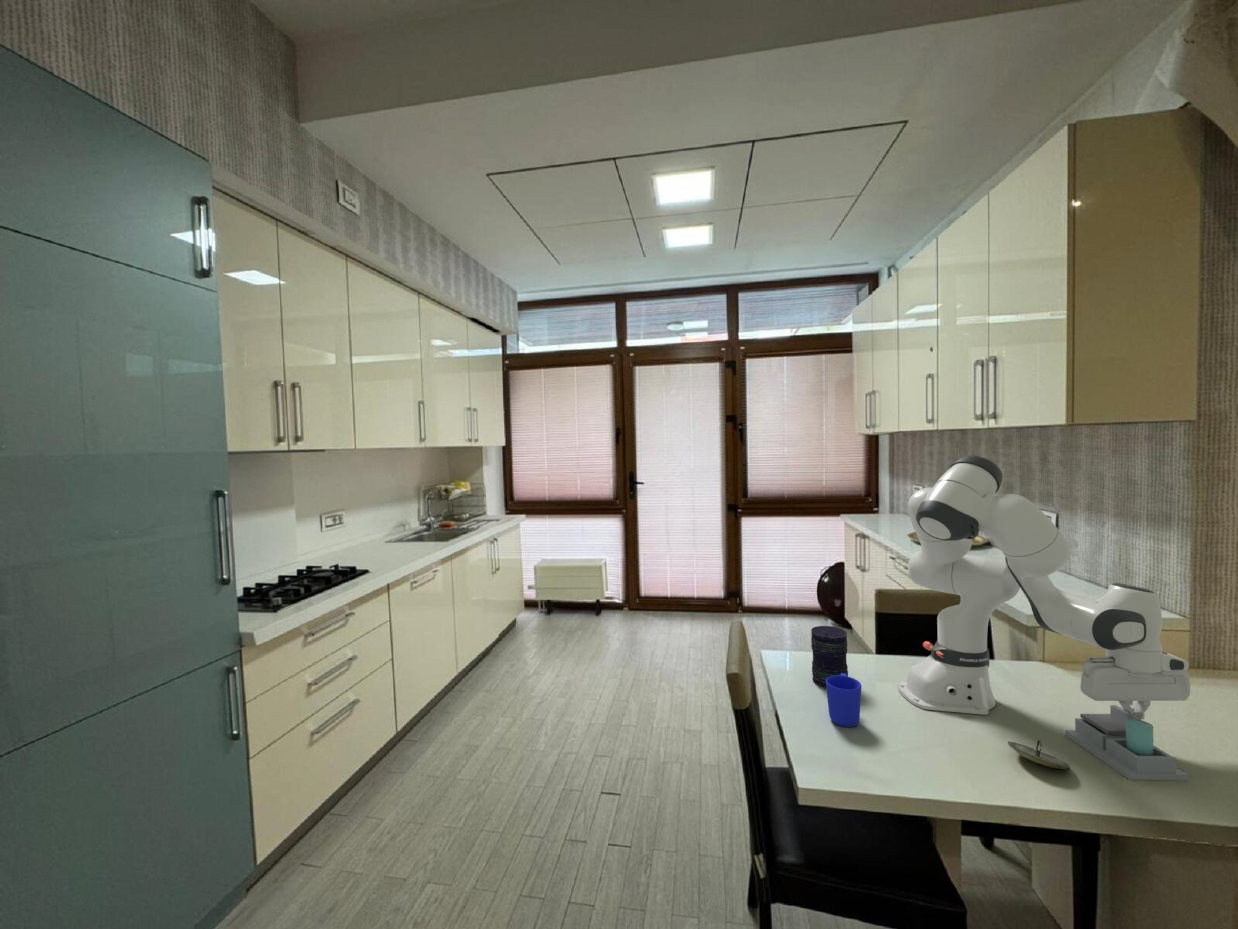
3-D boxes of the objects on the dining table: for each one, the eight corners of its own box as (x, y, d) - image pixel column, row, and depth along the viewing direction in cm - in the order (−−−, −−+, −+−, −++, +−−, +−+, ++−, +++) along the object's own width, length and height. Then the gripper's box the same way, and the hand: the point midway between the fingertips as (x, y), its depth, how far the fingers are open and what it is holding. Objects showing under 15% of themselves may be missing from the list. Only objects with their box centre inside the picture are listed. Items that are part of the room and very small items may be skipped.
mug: (861, 709, 132) (860, 671, 132) (862, 733, 121) (861, 692, 121) (827, 703, 136) (827, 667, 135) (825, 726, 125) (824, 686, 124)
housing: (1188, 780, 101) (1188, 760, 101) (1129, 779, 102) (1128, 759, 102) (1116, 735, 117) (1115, 717, 117) (1065, 735, 118) (1065, 717, 117)
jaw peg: (1138, 767, 103) (1137, 728, 103) (1120, 755, 107) (1120, 718, 107) (1159, 767, 103) (1159, 728, 103) (1141, 755, 107) (1140, 718, 107)
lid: (997, 758, 110) (997, 736, 110) (1022, 745, 114) (1022, 723, 114) (1056, 786, 100) (1056, 762, 100) (1081, 771, 105) (1080, 747, 105)
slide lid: (1143, 735, 109) (1143, 720, 109) (1108, 734, 110) (1107, 720, 110) (1113, 717, 116) (1113, 703, 116) (1080, 717, 117) (1080, 703, 117)
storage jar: (817, 671, 155) (815, 623, 155) (851, 679, 149) (850, 629, 149) (808, 684, 147) (806, 633, 147) (844, 693, 141) (842, 640, 141)
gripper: (1096, 663, 110) (1096, 725, 110) (1197, 662, 109) (1197, 726, 109) (1072, 651, 116) (1073, 710, 117) (1167, 651, 115) (1167, 710, 115)
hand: (1133, 718), depth 113 cm, fingers closed
